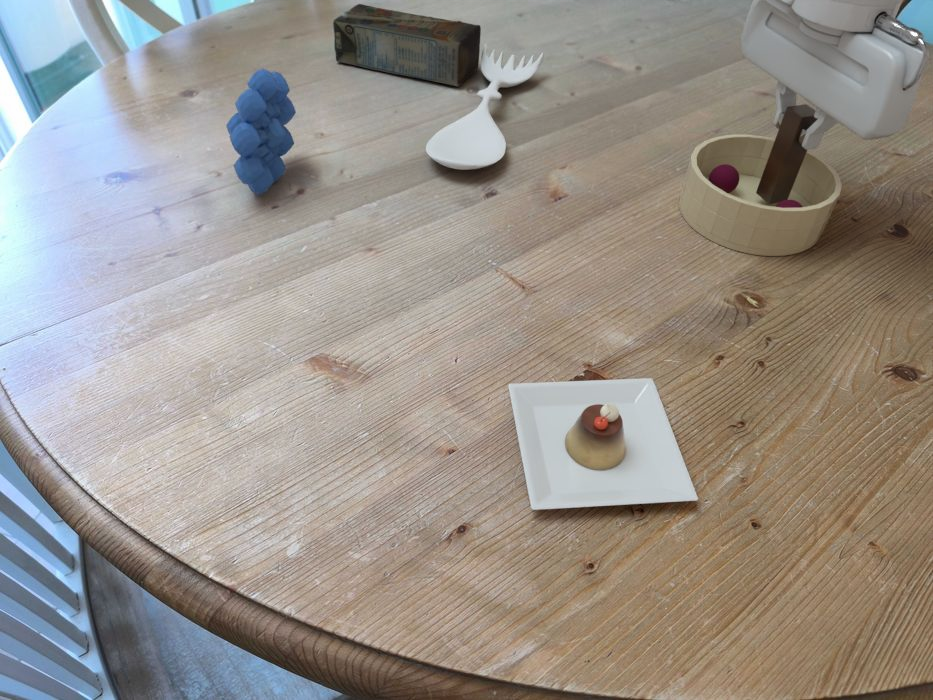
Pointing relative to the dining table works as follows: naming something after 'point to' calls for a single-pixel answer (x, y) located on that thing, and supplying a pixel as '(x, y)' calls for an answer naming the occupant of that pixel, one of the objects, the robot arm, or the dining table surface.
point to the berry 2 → (789, 204)
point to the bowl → (756, 198)
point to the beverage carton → (407, 44)
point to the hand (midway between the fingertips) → (794, 136)
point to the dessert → (597, 444)
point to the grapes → (262, 130)
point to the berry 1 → (724, 177)
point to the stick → (785, 155)
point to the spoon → (480, 119)
